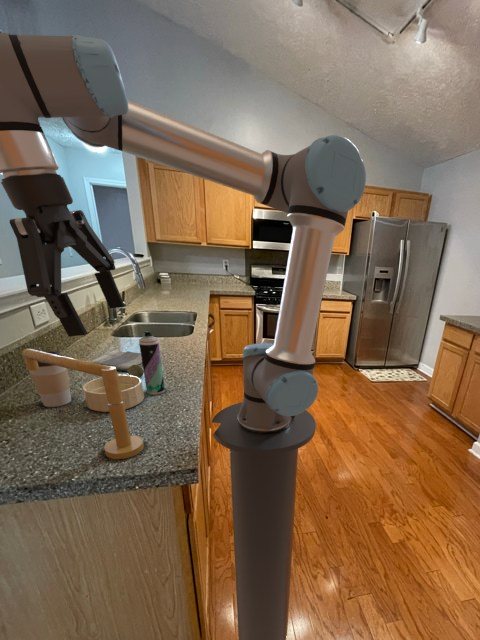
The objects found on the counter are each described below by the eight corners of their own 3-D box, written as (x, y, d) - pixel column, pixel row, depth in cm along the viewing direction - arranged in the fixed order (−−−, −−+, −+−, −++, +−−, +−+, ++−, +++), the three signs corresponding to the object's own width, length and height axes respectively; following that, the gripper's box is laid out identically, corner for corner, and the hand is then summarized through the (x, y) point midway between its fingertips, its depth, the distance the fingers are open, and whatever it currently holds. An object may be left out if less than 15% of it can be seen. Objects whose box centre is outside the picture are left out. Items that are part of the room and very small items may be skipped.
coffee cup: (78, 394, 99) (66, 348, 93) (72, 406, 92) (59, 356, 86) (43, 397, 96) (29, 349, 90) (34, 410, 89) (17, 358, 82)
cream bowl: (153, 394, 102) (151, 377, 100) (124, 415, 89) (120, 395, 86) (110, 390, 104) (106, 373, 101) (74, 410, 90) (69, 390, 88)
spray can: (143, 393, 103) (133, 332, 95) (155, 387, 108) (146, 328, 100) (157, 396, 102) (148, 334, 93) (168, 390, 106) (160, 330, 98)
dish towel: (129, 372, 119) (128, 364, 118) (87, 367, 122) (85, 359, 120) (158, 359, 136) (157, 351, 135) (120, 355, 138) (119, 347, 137)
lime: (146, 378, 115) (144, 365, 113) (132, 381, 112) (130, 367, 110) (140, 374, 118) (138, 362, 116) (127, 377, 115) (125, 364, 112)
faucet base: (150, 442, 77) (143, 397, 72) (130, 461, 70) (121, 412, 65) (120, 438, 78) (110, 394, 73) (97, 457, 70) (85, 408, 66)
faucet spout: (125, 400, 69) (119, 366, 66) (114, 405, 67) (107, 370, 64) (39, 377, 79) (30, 346, 75) (27, 381, 76) (17, 349, 73)
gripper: (59, 178, 55) (112, 300, 67) (-82, 177, 34) (31, 352, 46) (101, 173, 54) (147, 296, 67) (-17, 169, 34) (80, 348, 46)
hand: (99, 319), depth 57 cm, fingers open, 13 cm apart
